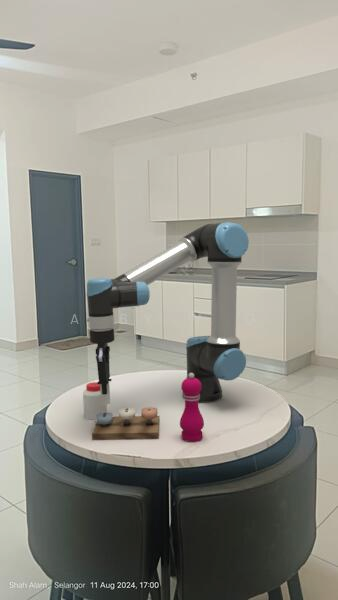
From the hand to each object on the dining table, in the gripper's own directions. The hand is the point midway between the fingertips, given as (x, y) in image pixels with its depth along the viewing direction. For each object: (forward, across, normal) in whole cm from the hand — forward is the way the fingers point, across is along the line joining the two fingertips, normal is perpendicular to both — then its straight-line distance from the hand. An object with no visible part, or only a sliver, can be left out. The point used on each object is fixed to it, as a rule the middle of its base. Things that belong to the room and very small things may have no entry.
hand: (105, 402), depth 152 cm
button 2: (+7, 0, +6) cm, 9 cm away
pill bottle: (+9, -13, -6) cm, 17 cm away
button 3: (+8, 0, -1) cm, 8 cm away
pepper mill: (+10, +7, +26) cm, 29 cm away
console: (+9, 0, +6) cm, 11 cm away
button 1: (+7, 0, +13) cm, 15 cm away
